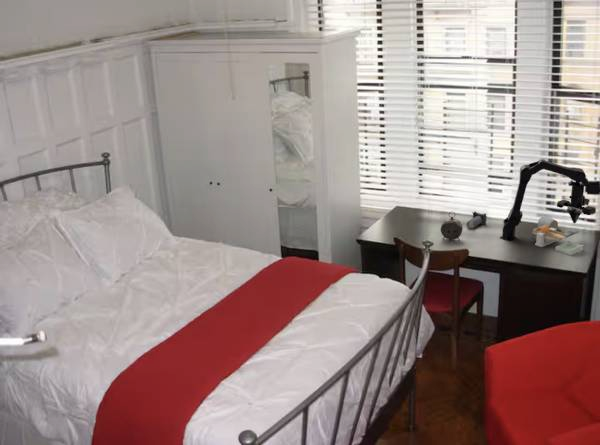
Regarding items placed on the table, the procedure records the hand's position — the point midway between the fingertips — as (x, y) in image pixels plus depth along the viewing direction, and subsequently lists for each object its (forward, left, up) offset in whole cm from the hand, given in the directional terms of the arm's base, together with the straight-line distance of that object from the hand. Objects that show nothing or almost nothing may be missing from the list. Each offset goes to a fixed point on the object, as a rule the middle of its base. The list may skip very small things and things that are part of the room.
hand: (574, 223), depth 356 cm
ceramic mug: (+4, +17, -10) cm, 20 cm away
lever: (-7, +6, -8) cm, 12 cm away
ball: (-12, +8, -2) cm, 15 cm away
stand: (-12, +7, -10) cm, 17 cm away
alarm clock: (-44, +42, -10) cm, 62 cm away
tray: (-12, -6, -10) cm, 17 cm away
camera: (-19, +48, -10) cm, 53 cm away
